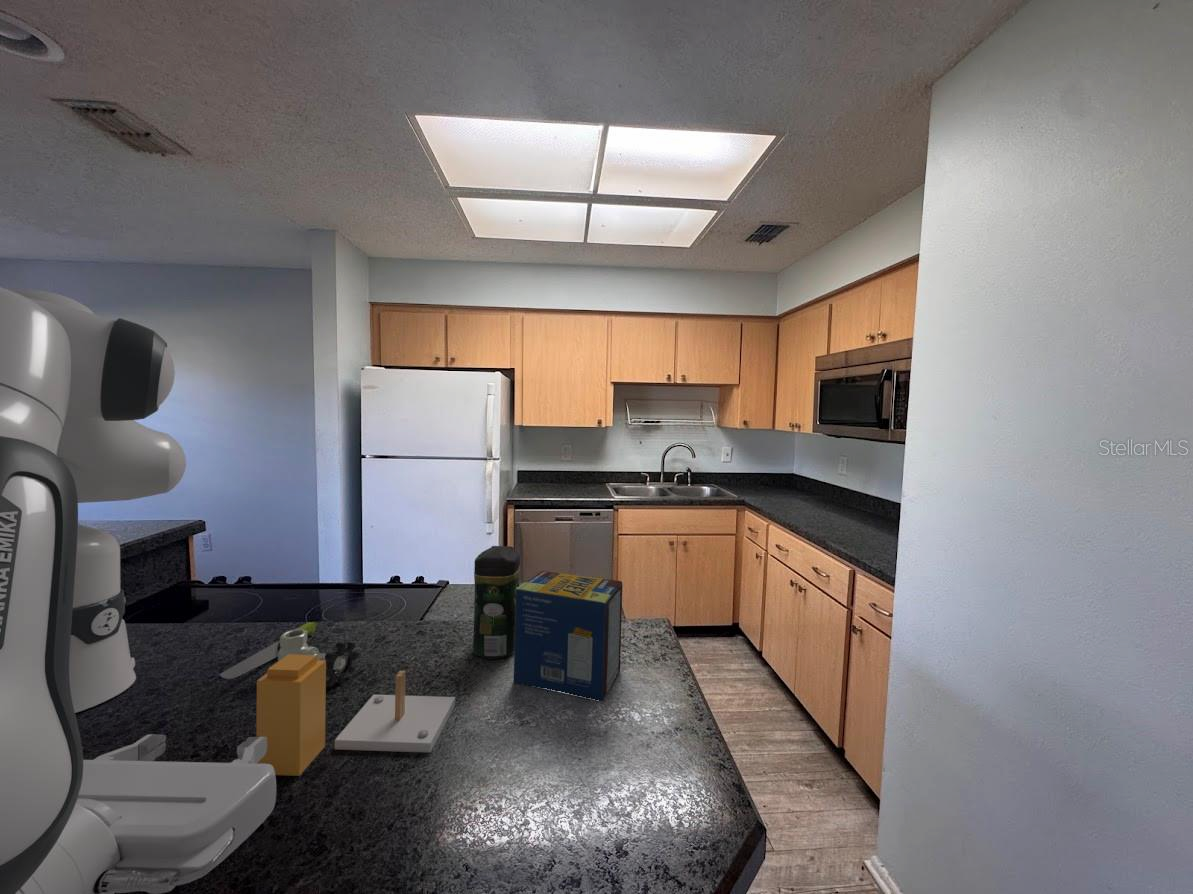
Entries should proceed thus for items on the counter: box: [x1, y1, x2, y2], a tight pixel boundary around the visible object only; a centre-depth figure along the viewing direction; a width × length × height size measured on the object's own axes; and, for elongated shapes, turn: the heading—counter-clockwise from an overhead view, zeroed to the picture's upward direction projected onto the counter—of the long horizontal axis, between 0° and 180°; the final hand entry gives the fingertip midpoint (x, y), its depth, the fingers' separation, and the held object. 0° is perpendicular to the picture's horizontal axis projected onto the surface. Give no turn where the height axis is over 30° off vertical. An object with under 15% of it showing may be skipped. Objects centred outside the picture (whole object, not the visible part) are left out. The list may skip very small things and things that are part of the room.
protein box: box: [513, 570, 623, 701], centre depth 77 cm, size 10×15×16 cm
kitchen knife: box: [219, 621, 317, 680], centre depth 78 cm, size 22×1×3 cm, turn 0°
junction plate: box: [334, 670, 456, 753], centre depth 63 cm, size 12×10×7 cm
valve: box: [277, 628, 360, 687], centre depth 74 cm, size 7×7×12 cm
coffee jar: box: [472, 545, 521, 660], centre depth 86 cm, size 10×8×19 cm
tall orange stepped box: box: [255, 654, 327, 777], centre depth 56 cm, size 5×5×12 cm
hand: (209, 742), depth 43 cm, fingers open, 8 cm apart
